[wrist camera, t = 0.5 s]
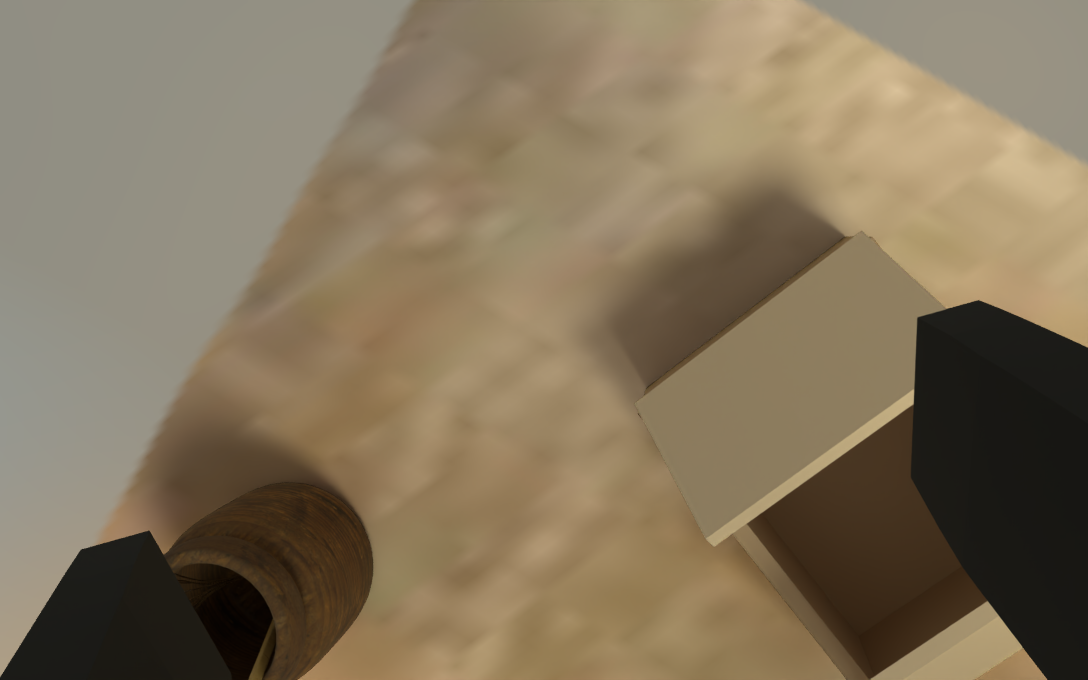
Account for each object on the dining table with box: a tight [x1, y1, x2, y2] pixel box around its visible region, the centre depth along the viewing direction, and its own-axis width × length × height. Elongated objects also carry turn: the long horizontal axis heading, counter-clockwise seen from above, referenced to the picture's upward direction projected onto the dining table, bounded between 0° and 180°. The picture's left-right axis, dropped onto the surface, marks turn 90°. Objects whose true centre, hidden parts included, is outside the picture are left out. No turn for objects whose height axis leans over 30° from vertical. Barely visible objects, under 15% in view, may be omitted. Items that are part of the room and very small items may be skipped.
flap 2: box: [870, 601, 1023, 680], centre depth 26 cm, size 6×8×1 cm
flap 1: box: [634, 231, 946, 547], centre depth 26 cm, size 6×8×1 cm
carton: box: [638, 236, 987, 680], centre depth 31 cm, size 11×8×5 cm
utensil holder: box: [164, 483, 373, 680], centre depth 31 cm, size 6×6×12 cm
